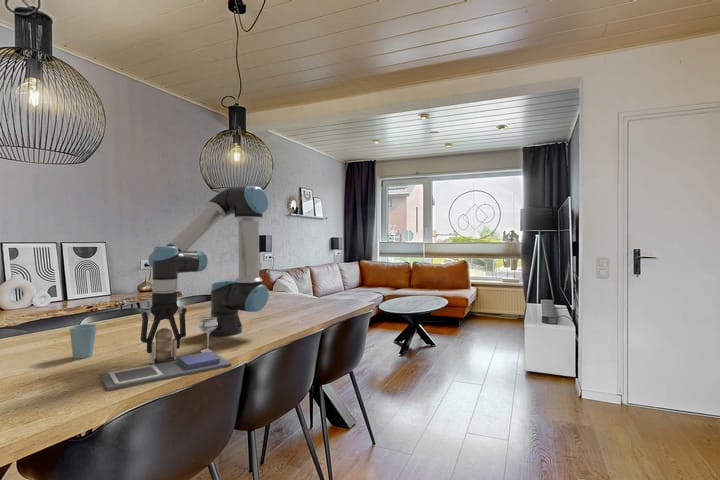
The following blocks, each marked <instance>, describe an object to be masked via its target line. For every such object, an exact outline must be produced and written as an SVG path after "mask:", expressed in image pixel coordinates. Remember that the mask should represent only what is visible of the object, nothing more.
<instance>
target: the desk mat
mask: <svg viewBox="0 0 720 480" xmlns="http://www.w3.org/2000/svg"><path fill="white" fill-rule="evenodd" d="M230 366H232V362H230V361H229V360H227V359H225V358H223V357H222V356H220V355H218V354H217V353H216V352H215V353H212V352H204V353H203V352H200V353H194V354H193V353H192V354H187V355H181V356H178V357H177V359H176V360H173V361H170V362H165V363H159V364H154V363H153V364H148V365H144V366H143V365H142V366H137V367H132V368H125V369H120V370H115V371H108V372H104V373H103V372H102V373H100V374H99V376H100V379H101V381H102V383H103V385H104V387H105V389H106V391H107V392H108V391H109V392H110V391H113V390H114V391H115V390H118V389H123V388H129V387H133V386H139V385H143V384H149V383H154V382H157V381H164V380H169V379H173V378H177V377H182V376H188V375H192V374H197V373H202V372H208V371H211V370H216V369H221V368H226V367H230Z"/></svg>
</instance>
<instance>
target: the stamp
mask: <svg viewBox="0 0 720 480" xmlns="http://www.w3.org/2000/svg"><path fill="white" fill-rule="evenodd" d="M154 339H155V357H154V363H153V364H159V363H165V362H170V361H174V359H173V357H172V339H173V331H172V329H169V328H168V327H163V328H160V329H157V330H156V333H155V336H154Z"/></svg>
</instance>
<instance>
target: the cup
mask: <svg viewBox="0 0 720 480" xmlns="http://www.w3.org/2000/svg"><path fill="white" fill-rule="evenodd" d="M97 328H98V325H97V324H93V323H92V324H91V323H90V324H89V323H87V324H79V325H73V326H70V327H69V335H70V343H71V353H72V359H76V360H79V359H80V360H81V359H87V358H90V357H92V356H93V355H94V348H95V341H96V336H97V331H98V330H97Z"/></svg>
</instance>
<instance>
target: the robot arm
mask: <svg viewBox="0 0 720 480" xmlns="http://www.w3.org/2000/svg"><path fill="white" fill-rule="evenodd" d="M204 207H205V208H203V210H202V211H200V213H199V214H198V215H197V216H195V217H194V218H193V219H192V220H191V221H190V222H189V223H188V224H187V225H186V226H185V227H184V228H183V229H182V230H181V231H180V232H179V233H178V234H177V235H176V236H175V237H174V238H172V239H171V241H169V243H168V244H166V245H157V246H155V247H154V248H153V251H152V252H150V254H149V257H148V264H149V266H150V268H152V285H151V287H152V289H151V290H152V293H151V306H150V308H149V309H148V310H142V311H141V312H140V314H141V318H142V321H141V330H140V341H141V342H142V343H143V344H144V343H145V344H146V352H147V354H149V362H150V364H151V365H153V364H154V359H155V349H156V342H154V339H155V335H156V333H157V331H158V327H159V324H160V323H161V321H163V320H168V321H169V324H170V327H171V332H172V335H173V336H174V338H172V339H171V340H172V352H171V357H173V361H176V360H178V357H177V356H178V355H177V353H178V349H180V347H181V344H180V343H181V339H183V338H184V337H186V336H187V331H186V330H187V329H186V328H187V327H186V313H187V308H186V307H180V306H179V305H178V292H177V290H178V274H182V273H199V272H202V271H204V270H205V269H206V268H207V267H208V261H209V260H208V257H207V254H206V253H205V252H203V251H198V250H193V251H191V250H192V249H193V248H194V247H195V246H196V245H197V244H198V243H199V242H200V240H202V239H203V238H204V237H205V236H206V235H207V234H208V232H209V231H211V229H212V228H213V227H214V226H215V225H217V223H218V222H220V221H223V220H224V219H226V217H228V216H230V215H234V219H235V220H236V221H238V226H237V228H238V229H237V230H238V277H237V278H236V279H234V280H233V279H232V280H223V281H215V282H213V283H212V284H211V291H210V293H211V294H210V317H217V318H218V319H217V321H218V326H217V328H216V329H215V330H214V331H212V332H210V334H209V336H217V337H218V336H219V337H222V336H232V335H237V334H241V333H242V332H243V325H242V321H241V318H240V315H239V311H241V312H247V313H258V312H261V310H263V309H264V308H265V306H266V305H267V303H268V300H269V295H270V293H269V289H268V287H267V286H266V285H265V284H264V279H262V277H261V276H260V221H261V220H262V219H263V218H264V217H263V214H264V213H266V212H267V210H268V207H269V198H268V195H267V194H266V192H265V191H264V189H263V188H261V187H260V186H255V185H248V186H236V187H234V186H233V187H231V186H230V187H228V188H225V189H223V190H221V191H220V192H218V193H217V194H215V195H213V197H211V199H210V200H208V202H206V204H205V206H204ZM177 312H178V316H179V319H178V320H179V329H178V326H177V323H176V319H175V314H176V313H177ZM151 314H152V315H153V320H152V321H153V322H152V325H151V327H150V330H149V333H148V328H149V327H148V326H149V317H151Z"/></svg>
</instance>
